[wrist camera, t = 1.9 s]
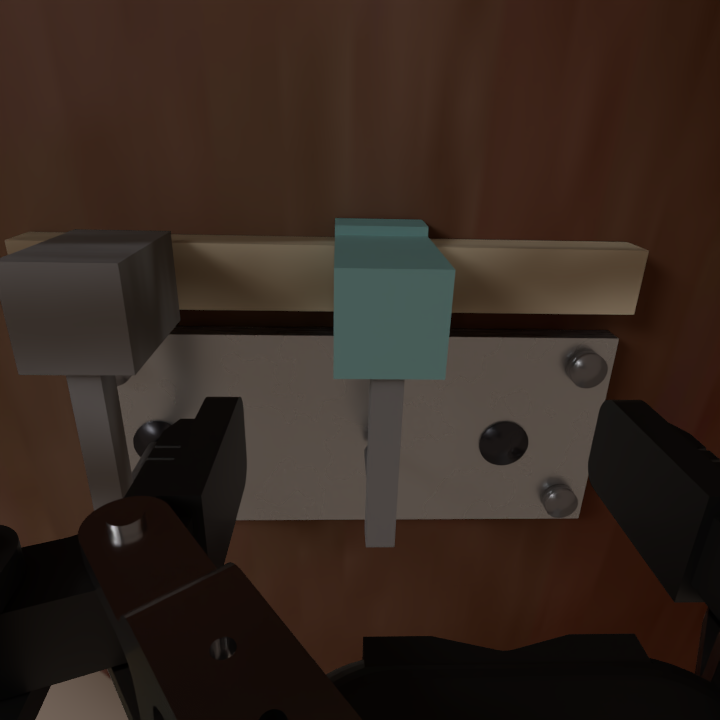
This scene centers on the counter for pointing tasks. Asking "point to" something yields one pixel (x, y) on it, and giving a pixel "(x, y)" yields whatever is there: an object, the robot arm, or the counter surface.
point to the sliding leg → (388, 338)
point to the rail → (241, 303)
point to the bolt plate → (419, 420)
